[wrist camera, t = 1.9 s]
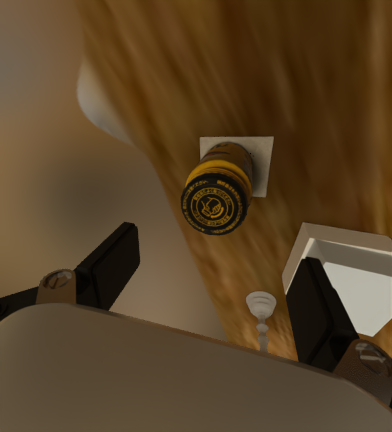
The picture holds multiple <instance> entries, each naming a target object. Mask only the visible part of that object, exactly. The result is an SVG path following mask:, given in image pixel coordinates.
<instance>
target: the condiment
mask: <svg viewBox="0 0 392 432" xmlns="http://www.w3.org/2000/svg"><path fill="white" fill-rule="evenodd" d="M273 139H274V137H200V162H199V163H198V164H197V166H195V168H194V169H193V170H192V171H191V173H190V174H189V176H188V179H187V181H186V186H185V188H184V190H183V194H182V196H181V209H182V213H183V214H184V217H185V219H186V220H187V221H188V222H189V224H190V225H192V226H193V228H194V229H196V230H198V231H200V232H203V233H205V234H208V235H225V234H228V233H230V232H232V231H233V230H234V229H235V228H237V227H238V226H239V225H241V223H242V221H244V219H245V216H246V215H247V210H248V207H249V205H250V203H251V199H252V196H255V197H266V190H267V183H268V175H269V168H270V161H271V154H272V147H273ZM250 153H251V155H250ZM252 155H254V157H253V156H252Z"/></svg>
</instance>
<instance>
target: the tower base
mask: <svg viewBox="0 0 392 432" xmlns="http://www.w3.org/2000/svg"><path fill="white" fill-rule="evenodd" d="M314 239H318V240H323V241H328V242H332V243H337V244H342V245H346V246H351V247H355V248H360V249H365V250H369V251H374V252H379V253H383V254H388V255H392V240H391V239H390V238H389V237H388V236H384V235H378V234H371V233H365V232H359V231H353V230H347V229H341V228H335V227H329V226H323V225H317V224H311V223H304V222H303V223H302V226H301V228H300V231H299V234H298V236H297V239H296V241H295V244H294V246H293V249H292V251H291V254H290V256H289V259H288V261H287V264H286V266H285V269H284V271H283V274H282V280H283V285H284V291H285V294H287V291H288V289H289V286H290V284H291V282H292V279H293V277H294V275H295V272H296V270H297V268H298V265H299V263H300V261H301V259H302V258H303V259H305V257H306V255H307V253H308V251H309V249H310V247H311V245H312V243H313V241H314Z"/></svg>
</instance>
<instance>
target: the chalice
mask: <svg viewBox="0 0 392 432" xmlns="http://www.w3.org/2000/svg"><path fill="white" fill-rule="evenodd" d="M246 302H247V304H248V307H249V309H250V311H251V313H252V314H253V315H254V316H256V317H257V318H258V319H259V324H258V325H257V326H256V328H257V329H258V330H259V333H260V334H259V337H258V338H257V340H258V341H259V344H260V351H262V352H265V353H268V351H267V344H268V342H269V339H268V338H267V336H266V331H267V330H268V329H269V328H268V326H267V325H266V323H265V318H268V317H270V316H271V315H272V313H273V310H274V308H275V305H276V299H275V298H274V297H273V296H272V295H271V294H269V293H267V292H262V291H256V292H252V293H250V294H249V295H248V296H247V297H246ZM269 354H271V353H269Z"/></svg>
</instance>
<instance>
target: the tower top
mask: <svg viewBox="0 0 392 432" xmlns="http://www.w3.org/2000/svg"><path fill="white" fill-rule="evenodd" d="M307 256H308V257H313V258H318V259H319V260H320V261H321V263H322V265H323V268H324V270H325V272H326V274H327V276H328V278H329V280H330V282H331V284H332V286H333V288H335V289H336V291H337V293H338V295H339V297H340V299H341V301H342V303H343V305H344V307H345V309H346V311H347V313H348V315H349V317H350V320H351V322H352V324H353V326H354V328H355V330H356V332H358V333H361V334H365V335H369V336H372V337H373V336H374V335H375V334H376V333H377V332H378V331H379V330H380V329H381V328H382V327H383V326H384V325H385V324H386V323H387V322H388V321H389V320H390V319H391V318H392V255H388V254H383V253H379V252H374V251H369V250H365V249H360V248H355V247H351V246H346V245H342V244H337V243H332V242H328V241H323V240H318V239H314V241H313V243H312V245H311V247H310V249H309V251H308V253H307V255H306V257H307Z"/></svg>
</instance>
